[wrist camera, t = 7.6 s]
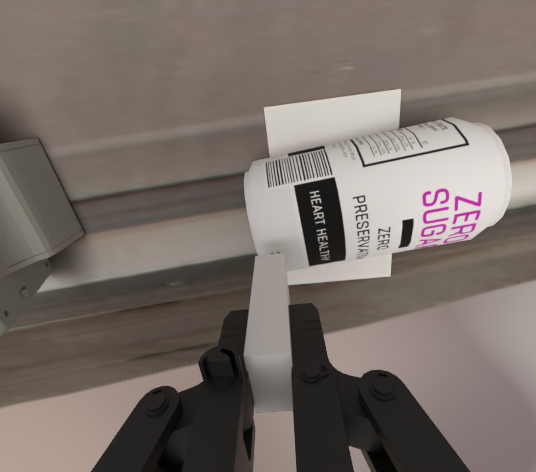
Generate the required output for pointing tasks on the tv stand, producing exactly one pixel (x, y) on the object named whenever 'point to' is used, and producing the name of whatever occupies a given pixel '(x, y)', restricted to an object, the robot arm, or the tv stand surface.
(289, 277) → the mat
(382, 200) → the supplement can
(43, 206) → the digital clock
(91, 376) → the tv stand surface
